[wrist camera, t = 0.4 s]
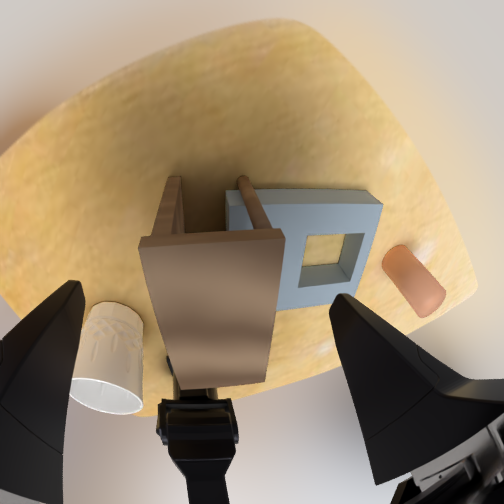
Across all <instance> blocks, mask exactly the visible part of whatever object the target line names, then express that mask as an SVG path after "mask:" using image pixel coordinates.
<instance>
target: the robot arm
mask: <svg viewBox="0 0 504 504" xmlns="http://www.w3.org/2000/svg"><path fill="white" fill-rule="evenodd" d="M84 310H85V297H84V293H83V289H82V285H81V282H80V281H77V280H68V281H67V282H66V283H64V284H63V285H62V286H61V287H59V288H58V289H57V290H56V291H55V292H53V293H52V294H51V295H50V296H49V297H47V298H46V299H45V300H44V301H43V302H42V303H40V304H39V305H38V306H37V307H36V308H35V309H34V310H32V311H31V312H30V313H29V314H28V315H27V316H26V317H25V318H23V319H22V320H21V321H20V322H19V323H18V324H17V325H16V326H15V327H14V328H13V329H12V330H11V331H9V332H8V333H7V334H6V335H5V336H4V337H3V338H2V340H0V504H39V502H42V503H46V504H63V478H62V477H63V476H62V475H63V455H62V454H63V446H64V432H65V424H66V415H67V408H68V401H69V394H70V388H71V382H72V377H73V372H74V367H75V362H76V358H77V353H78V349H79V343H80V336H81V329H82V323H83V316H84ZM329 317H330V321H331V325H332V330H333V334H334V339H335V343H336V348H337V351H338V354H339V358H340V361H341V364H342V367H343V370H344V373H345V376H346V379H347V383H348V386H349V389H350V393H351V396H352V399H353V403H354V406H355V409H356V413H357V416H358V420H359V423H360V427H361V431H362V434H363V438H364V441H365V446H366V450H367V453H368V457H369V461H370V465H371V469H372V473H373V478H374V482H375V484H376V485H379V484H382V483H385V482H387V481H390V480H392V479H395V478H397V477H399V476H402V475H404V474H406V473H408V472H411V474H412V476H411V477H410V478H408V479H406V480H404V481H403V482H401V483H399V484H398V486H397V489H396V491H395V494H394V496H393V498H392V501H391V503H390V504H504V379H487V380H485V379H484V380H474V379H469V378H465V377H463V376H462V375H460V374H459V373H457V372H455V371H454V370H453V369H451V368H450V367H448V366H447V365H445V364H443V363H442V362H440V361H439V360H437V359H436V358H435V357H433V356H432V355H430V354H429V353H428V352H426V351H425V350H424V349H422V348H421V347H420V346H418V345H416V343H414V342H413V341H412V340H410V339H409V338H408V337H406V336H405V335H404V334H403V333H401V332H400V331H399V330H397V329H396V328H394V327H393V326H392V325H390V324H389V323H388V322H386V321H385V320H384V319H382V318H381V317H380V316H378V315H377V314H376V313H374V312H373V311H372V310H370V309H369V308H368V307H366V306H365V305H363V304H362V303H361V302H359V301H358V300H357V299H355V298H354V297H352V296H351V295H350V294H348V293H339V294H337V295H336V297H335V299H334V301H333V303H332V305H331V307H330V310H329ZM167 363H168V366H169V368H170V371H171V373H172V376H173V400H167V399H162V402H161V403H160V404H158V419H157V426H156V433H157V434H158V435H159V436H160V437H161V440H162V443H163V445H168V453H169V455H170V457H171V459H172V461H173V463H174V464H175V465H176V467H177V468H178V469H179V470H180V472H181V473H182V474H183V476H185V478H186V483H187V491H188V498H189V504H230V503H229V498H228V492H227V487H226V481H225V474H226V471H227V469H228V468H229V466H230V464H231V461H232V459H233V457H234V455H235V453H236V448H235V444H238V441H239V434H238V426H237V421H236V417H235V413H234V409H233V405H232V401H231V398H226V399H218V394H217V387H216V388H203V389H185V390H181V388H180V386H179V383H178V381H177V378H176V375H175V373H174V370H173V367H172V364H171V362H170V359H169V356H167Z"/></svg>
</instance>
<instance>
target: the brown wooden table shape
mask: <svg viewBox="0 0 504 504" xmlns="http://www.w3.org/2000/svg"><path fill="white" fill-rule="evenodd" d="M237 184H238V187H239V190H240V193H241V195H242V198H243V201H244V204H245V206H246V209H247V212H248V215H249V217H250V220H251V223H252V226H253V229H252V230H234V231H217V232H201V233H186V234H185V224H184V213H183V201H182V188H181V176H179V177H168V179H167V182H166V185H165V189H164V192H163V195H162V198H161V202H160V205H159V209H158V212H157V216H156V219H155V223H154V227H153V230H152V234H151V236H144V237H141V240H140V243H139V247H138V250H139V254H140V259H141V263H142V267H143V271H144V275H145V279H146V283H147V287H148V291H149V295H150V298H151V302H152V305H153V309H154V312H155V316H156V319H157V322H158V325H159V329H160V332H161V335H162V338H163V341H164V344H165V347H166V350H167V353H168V356H169V359H170V362H171V364H172V367H173V370H174V373H175V375H176V378H177V381H178V383H179V386H180V388H181V390H185V389H203V388H216V387H227V386H237V385H246V384H254V383H261V382H265V377H266V371H267V365H268V359H269V353H270V347H271V340H272V334H273V327H274V321H275V314H276V307H277V301H278V294H279V287H280V279H281V272H282V265H283V257H284V249H285V241H286V238H285V236H284V234H283V232H282V230H281V228H273V227H272V225H271V223H270V221H269V219H268V217H267V215H266V213H265V211H264V209H263V207H262V205H261V202H260V200H259V198H258V196H257V194H256V192H255V190H254V188H253V186H252V184H251V182H250V180H249V178H248V177H247V176H240V177H239V178H238V180H237Z"/></svg>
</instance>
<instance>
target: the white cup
mask: <svg viewBox="0 0 504 504" xmlns="http://www.w3.org/2000/svg"><path fill="white" fill-rule="evenodd" d="M142 337H143V322H142V320H141V318H140V317H139V315H138V314H137V313H136V312H134V311H133V310H132V309H130V308H129V307H127V306H125V305H122V304H119V303H116V302H101V303H99V304H97V305H94V306H93V307H92V309H91V310H90V312H89V314H88V317H87V319H86V322H85V325H84V326H83V328H82V331H81V336H80V343H79V349H78V353H77V358H76V362H75V367H74V372H73V377H72V382H71V388H70V394H69V395H70V396H71V397H73V398H74V399H75V400H77V401H78V402H79V403H81V404H83V405H85V406H87V407H89V408H92V409H95V410H98V411H101V412H106V413H112V414H132V413H136V412H138V411H140V410H141V409H142V408H143V338H142Z"/></svg>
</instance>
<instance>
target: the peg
mask: <svg viewBox="0 0 504 504" xmlns="http://www.w3.org/2000/svg"><path fill="white" fill-rule="evenodd" d="M382 268H383V270H384V271H385V272H386V274H387V275H388V276H389V278H390V279H391V280H392V281H393V283H394V284H395V285H396V287H397V288H398V289H399V291H400V292H401V293H402V295H403V296H404V297H405V299H406V300H407V301H408V303H409V304H410V305H411V307H412V308H413V309H414V311H415V312H416V314H417V315H418V316H419V317H420V318H424V317H427V316H429V315H430V314H432V313H433V312H434V311H435V310H437V309H438V307H439V306H440V305H441V304H442V302H443V301H444V299H445V296H446V291H445V289H444V288H443V287H442V286H441V285H440V284H439V282H438V281H437V280H436V279H435V278H434V277H433V276H432V274H431V273H430V272H429V271H428V270H427V269H426V268H425V267H424V266H423V264H422V263H421V262H420V261H419V260H418V259H417V258H416V257H415V256H414V255H413V254H412V253H411V252H410V251H409V250H408V249H407V247H406V246H404V245H398V246H395V247H393V248H392V249H391V250H390V251H389V252H388V253H387V254H386V255H385V257H384V259H383V261H382Z"/></svg>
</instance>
